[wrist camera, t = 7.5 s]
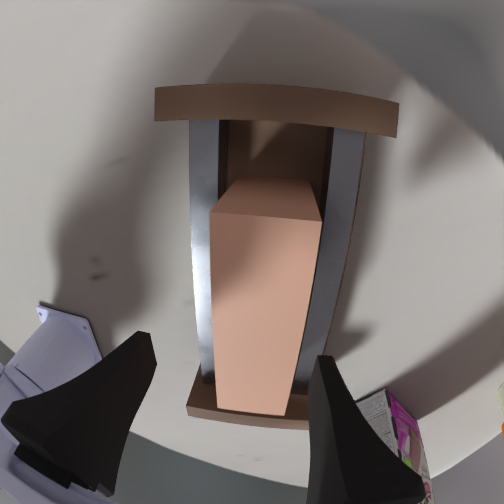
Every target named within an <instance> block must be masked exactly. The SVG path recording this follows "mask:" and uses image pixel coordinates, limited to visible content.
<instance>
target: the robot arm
mask: <svg viewBox="0 0 504 504" xmlns="http://www.w3.org/2000/svg"><path fill="white" fill-rule="evenodd" d="M36 310H37V312H38V315H39V317H40V320H41V322H42V325H41V326H40V327H39V328H38V329H37V330H36V331H35V332H34V334H33V335H32V336H31V337H30V338H29V339H28V340H27V341H26V343H25V344H24V345H23V346H22V347H21V348H20V350H19V351H18V352H17V353H16V354H15V355H14V357H13V358H12V359H11V360H10V361H9V363H8V364H7V365H5V366H3V365H2V364H1V363H0V489H1V488H2V489H3V490H4V491H6V492H7V493H8V494H9V495H10V496H11V497H12V498H14V499H15V500H16V501H17V502H19V503H20V504H119V503H116V502H114V501H111V500H109V499H107V498H104V497H102V496H100V495H97V494H95V493H93V492H97V493H99V494H101V495H103V496H106V497H110V496H112V495H114V491H115V484H116V479H117V473H118V468H119V464H120V460H121V456H122V452H123V449H124V445H125V442H126V438H127V435H128V433H129V429H130V427H131V424H132V422H133V419H134V417H135V415H136V413H137V411H138V409H139V407H140V405H141V403H142V401H143V399H144V397H145V395H146V392H147V390H148V388H149V386H150V384H151V381H152V378H153V376H154V372H155V369H156V366H157V362H156V358H155V354H154V349H153V345H152V341H151V336H150V333H146V332H142V331H137V332H136V333H134V334H133V335H132V336H131V337H129V338H128V339H127V340H126V341H124V342H123V343H122V344H121V345H120V346H118V347H117V348H116V349H115V350H113V351H112V352H111V353H110V354H108V355H107V356H106V357H105V358H103V359H102V357H101V354H100V352H99V349H98V347H97V344H96V341H95V339H94V336H93V333H92V330H91V327H90V325H89V322H88V320H87V319H85V318H82V317H78V316H74V315H71V314H67V313H64V312H60V311H57V310H53V309H50V308H47V307H44V306H40V305H38V306H37V307H36ZM308 419H309V434H310V473H309V484H308V494H307V502H306V504H418V503H420V502H421V501H423V500H424V498H425V497H426V492H425V486H424V483H423V480H422V476H420V475H419V474H418V473H416V472H415V471H414V470H412V469H411V468H410V467H409V466H408V465H406V464H405V463H404V462H403V461H402V460H401V459H400V458H399V457H398V456H396V455H395V454H394V452H393V451H392V450H391V449H390V448H389V447H388V446H387V445H386V444H385V443H384V442H383V441H382V440H381V438H380V437H379V436H378V435H377V433H376V432H375V431H374V430H373V428H372V427H371V426H370V424H369V423H368V422H367V420H366V419H365V417H364V416H363V414H362V413H361V411H360V409H359V408H358V406H357V405H356V403H355V401H354V399H353V398H352V396H351V394H350V392H349V390H348V389H347V387H346V385H345V383H344V381H343V379H342V377H341V374H340V372H339V370H338V368H337V365H336V363H335V361H334V358H333V357H332V356H327V355H317V358H316V361H315V365H314V368H313V372H312V375H311V378H310V382H309V385H308ZM88 489H89V490H91V491H93V492H91V491H89V490H88Z"/></svg>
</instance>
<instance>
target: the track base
mask: <svg viewBox="0 0 504 504" xmlns="http://www.w3.org/2000/svg"><path fill="white" fill-rule="evenodd" d="M398 113H399V103H396V102H392V101H387V100H383V99H378V98H373V97H368V96H362V95H357V94H351V93H345V92H338V91H331V90H324V89H315V88H306V87H295V86H282V85H265V84H199V85H182V86H169V87H158V88H155V121H168V120H190V125H189V184H190V222H191V246H192V265H193V281H194V295H195V308H196V320H197V331H198V342H199V352H200V361H201V363H200V366H199V369H198V372H197V375H196V378H195V381H194V384H193V387H192V390H191V392H190V395H189V398H188V401H187V404H186V408H187V412H188V416H193V417H198V418H203V419H209V420H215V421H221V422H227V423H234V424H241V425H249V426H258V427H268V428H280V429H296V430H309V419H308V385H309V382H310V378H311V375H312V372H313V368H314V365H315V361H316V358H317V355H323V354H324V350H325V347H326V343H327V339H328V336H329V332H330V328H331V324H332V321H333V317H334V313H335V309H336V305H337V301H338V296H339V292H340V288H341V283H342V279H343V274H344V270H345V265H346V260H347V255H348V250H349V245H350V240H351V235H352V229H353V224H354V218H355V212H356V206H357V199H358V193H359V186H360V179H361V171H362V164H363V155H364V146H365V137H366V132H367V133H372V134H378V135H383V136H388V137H393V138H396V135H397V125H398ZM239 175H251V176H265V177H278V178H290V179H300V180H309V181H310V184H311V188H312V191H313V194H314V197H315V200H316V204H317V207H318V210H319V213H320V217H321V220H322V226H321V233H320V240H319V246H318V253H317V259H316V265H315V271H314V277H313V283H312V289H311V294H310V300H309V305H308V311H307V316H306V321H305V326H304V331H303V336H302V341H301V346H300V350H299V355H298V360H297V364H296V369H295V373H294V377H293V382H292V386H291V390H290V394H289V398H288V403H287V407H286V411H285V414H284V416H282V415H270V414H260V413H251V412H243V411H235V410H228V409H222V408H218V407H217V394H216V380H215V365H214V348H213V328H212V306H211V277H210V231H209V212H210V211H211V210H212V208H213V207H214V206H215V205H216V203H217V202H218V201H219V200H220V198H221V197H222V196H223V195H224V193H225V192H226V191H227V190H228V189H229V187H230V186H231V185H232V184H233V183H234V181H235V180H236V179H237V178H238V177H239Z"/></svg>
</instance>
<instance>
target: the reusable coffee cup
mask: <svg viewBox="0 0 504 504" xmlns="http://www.w3.org/2000/svg"><path fill="white" fill-rule="evenodd" d="M496 398H497V402H498V405H499V409H500V413H501V416H502V420H503V424H502V433H503V437H504V382H503V384H502V385H501V387H500V388H499V390H498V392H497V395H496Z"/></svg>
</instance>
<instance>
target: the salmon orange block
mask: <svg viewBox="0 0 504 504" xmlns="http://www.w3.org/2000/svg"><path fill="white" fill-rule="evenodd" d="M321 226H322V220H321V217H320V213H319V210H318V207H317V204H316V200H315V197H314V194H313V191H312V188H311V184H310V181H309V180H300V179H290V178H278V177H265V176H251V175H239V177H238V178H237V179H236V180H235V181H234V183H233V184H232V185H231V186H230V187H229V189H228V190H227V191H226V192H225V193H224V195H223V196H222V197H221V198H220V200H219V201H218V202H217V203H216V205H215V206H214V207H213V208H212V210H211V211H210V212H209V231H210V277H211V306H212V328H213V348H214V365H215V380H216V394H217V407H218V408H222V409H228V410H235V411H243V412H251V413H260V414H270V415H282V416H284V414H285V411H286V407H287V403H288V398H289V394H290V390H291V386H292V382H293V377H294V373H295V369H296V364H297V360H298V355H299V350H300V346H301V341H302V336H303V331H304V326H305V321H306V316H307V311H308V305H309V300H310V294H311V289H312V283H313V277H314V271H315V265H316V259H317V253H318V246H319V240H320V233H321Z"/></svg>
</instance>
